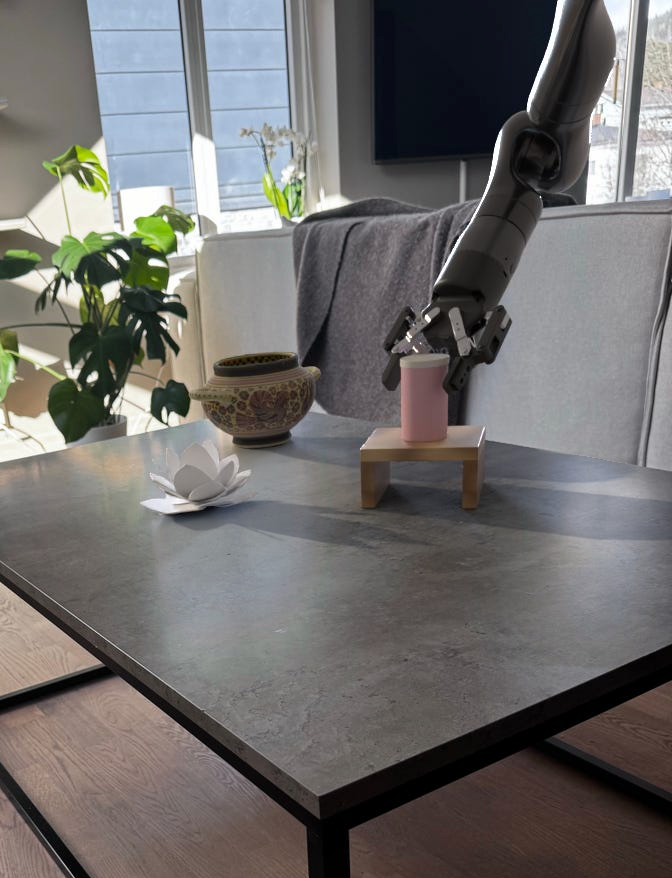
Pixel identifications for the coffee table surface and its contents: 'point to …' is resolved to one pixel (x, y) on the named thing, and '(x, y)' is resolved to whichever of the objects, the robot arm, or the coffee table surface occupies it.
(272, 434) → the ceramic bowl
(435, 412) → the tube
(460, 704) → the coffee table surface
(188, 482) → the lotus flower
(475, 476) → the shelf stand
